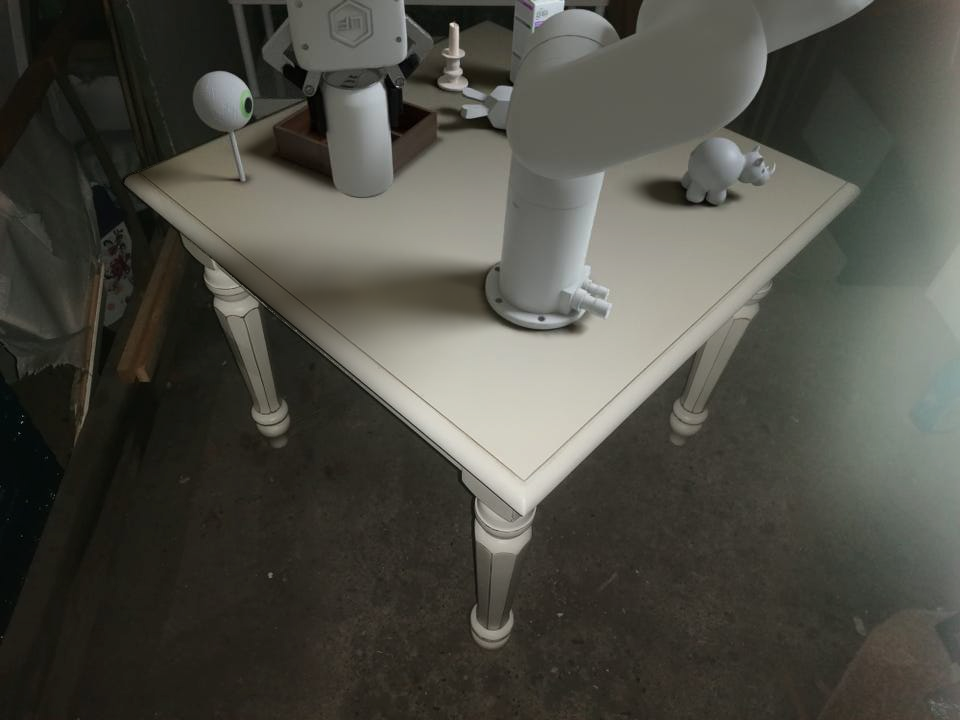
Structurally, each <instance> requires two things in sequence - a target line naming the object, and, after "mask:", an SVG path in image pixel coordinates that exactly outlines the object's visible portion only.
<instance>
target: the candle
mask: <svg viewBox="0 0 960 720" xmlns="http://www.w3.org/2000/svg"><path fill="white" fill-rule="evenodd" d="M459 26H460V25H459V24H457V23H456V21H455V20H454V21H453V22H450V23H449V29H448V30H449V33H448V47H446V48H444V49H442V50H441V55H442V56H443V57H445V58H446V66H445V67H444V68H443V74H444V75H442V76H440V77H438V78H437V86H438V87H439V88H440V89H441V90H443V91H447V92H462V90H463V89H464V88H467V87H468V86H469V80H468V79H467V78H466V77H465V76H463V68H462V67H460V65H461V62H460V60H461V58H463V57H465V55H466V52H465V50H464V49H462V48H460V27H459Z"/></svg>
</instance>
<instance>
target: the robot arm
mask: <svg viewBox="0 0 960 720" xmlns="http://www.w3.org/2000/svg"><path fill="white" fill-rule="evenodd" d="M285 1H286V10H287V15H288V17H286V19H285V20H284V21H283V22H282V23H281V25H280V26H279V27H278V28H277V30H275V32H274V33H273V35H272V36H271V37H270V38H269V39H268V41H267V42H266V43H265V44H264V45H263V46H262V49H261V53H262V59H263V61H264V62H266V63H267V64H268V65H269V66H271V67H272V68H273V69H274V70H276V71H277V72H279V73H280V74H282V75H283V77H284V78H285V79H286V80H287V81H288V82H290V83H292V84H293V85H294V86H295V87H297V89H300V90H301V91H302V93H303V94H304V96H305V98H306V105H308V110H309V116H310V121H311V123H315V122H317V123H318V127H319V131H320V135H321V134H325V133H326V132H327V127H326V120H325V113H324V106H323V99H322V94H321V86H320V84H319V83H320V80H321V77H322V75H323V73H324V72H330V71H343V70H355V69H367V68H384V69H385V71H386V74H385V77H384V78H383V81H384V83H385V85H386V87H387V93H388V104H389V119H390V124H391V126H393V127H398V114H403V101H404V98H403V97H404V96H403V88H404V87H405V86H406V85H407V80H408V79H409V78H410V76H412V75H413V73H415V71H416V70H417V69H418V68H419V66H420V63H421V62H422V60H424V59H425V58H426V56H427V55H428V54H429V53H430V52H431V51H432V50H433V47H434V46H435V43H434V40H433V38H432V36H431V35H430V33H428V32H427V31H426V30H425V29H424V28H423V27H422V26H421V25H419V24H418V23H417V22H416V21H414V19H412V17H410V16H409V15H408V14H407V13H406V12H405V10H406V9H405V0H285ZM874 1H875V0H642V1H641V5H640V7H639V10H638V15H637V19H636V26H635V33H633V34H631V35H628V36H627V37H624V38H622V39H621V38H620V36H619V34H618V32H617V31H616V29H615V27H614V26H613V25H612V24H611V23H610V22H609V21H608V20H607V19H606V18H605V17H603V16H601V15H600V14H597V12H594V11H591V10H587V9H581V8H572V9H571V8H570V9H566V10H563V11H562V12H559V13H557V14H555V15H553V16H551V17H549V18H548V19H547V20H545V21H544V22H543V23H542V24H541V25H540V26H539V27H538V28H537V29H536V30H535V31H534V33H533V34H532V35H531V37H530V39H529V40H528V42H527V44H526V46H525V48H524V51H523V54H522V57H521V60H520V63H519V66H518V70H517V73H516V77H515V82H514V83H513V85H512V87H513V89H512V93H511V96H510V100H509V104H508V109H507V115H506V130H505V131H506V137H507V142H508V145H509V148H510V150H511V154H510V165H509V174H508V175H509V176H508V181H507V193H506V203H505V214H504V224H503V235H502V245H501V255H500V260H499V261H498V262H497V263H496V264H494V265H493V266H492V268H491V269H489V272H488V274H487V275H486V278H485V279H486V280H485V296H486V299H487V302H488V303H489V305H490V307H491V308H492V309H493V310H494V311H495V312H496V313H497V314H498V315H499V316H501V317H502V318H503V319H505V320H506V321H508V322H511V323H512V324H515V325H517V326H520V327H524V328H528V329H533V330H552V329H553V330H554V329H559V328H563V327H566V326H568V325H570V324H572V323H574V322H576V321H577V320H579V319H580V318H581V317H582V316H583V315H584V314H585V313H586V311H587V312H588V313H590V314H591V315H594V316H596V317H598V318H601V319H603V320H606V319H607V318H608V317H609V315H610V312H611V310H612V307H613V303H611V302H609V301H607V299H608V297H609V294H610V291H611V290H610V289H609V288H607V287H605V286H602V285H598V284H596V283H593V279H590V274H591V269H592V267H591V266H590V265H587V264H585V263H586V259H587V258H586V257H587V253H588V249H589V245H590V239H591V236H592V231H593V225H594V221H595V218H596V217H595V216H596V212H597V208H598V203H599V197H600V195H601V194H600V193H601V191H602V187H603V182H604V177H605V174H606V172H607V171H609V170H612V169H616V168H619V167H622V166H625V165H628V164H631V163H634V162H638V161H640V160H643V159H647V158H650V157H653V156H655V155H658V154H661V153H664V152H668V151H670V150H673V149H676V148H679V147H683V146H685V145H688V144H691V143H693V142H696V141H699V140H701V139H703V138H707V137H708V136H710V135H712V134H714V133H717V132H718V131H719V130H721V129H722V128H724V127H726V126H727V125H728V124H730V123H731V122H733V121H734V120H735V119H737V118H738V117H739V116H740V115H741V114H742V113H743V112H744V111H745V110H746V109H747V108H748V106H749V105H750V104H751V102H752V101H753V100H754V99H755V97H756V95H757V93H758V92H759V90H760V88H761V86H762V83H763V80H764V78H765V75H766V70H767V61H768V54H770V53H772V52H775V51H778V50H780V49H782V48H785V47H787V46H789V45H793V44H794V43H796V42H799V41H801V40H804V39H806V38H808V37H810V36H812V35H815V34H817V33H819V32H822V31H825V30H826V29H829V28H831V27H833V26H836V25H837V24H839V23H842V22H843V21H846V20H847V19H850V18H851V17H852V16H854V15H856V14H858V13H859V12H861V11H862V10H863V9H865V8H867V6H869V5H871V4H872V3H873V2H874ZM408 38H409V39H410V40H411V41H413V43H412V44H411V46H410V48H409V49H408ZM291 44H292V48H293V52H294V56H295V59H296V61H297V63H296V62H294V61H293V60H292V59H290V58H288V57H287V56H286V55H285V53H284V52H285V51H286V50H287V49H288V47H289V46H290V45H291Z"/></svg>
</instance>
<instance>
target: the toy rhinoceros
mask: <svg viewBox="0 0 960 720" xmlns="http://www.w3.org/2000/svg"><path fill="white" fill-rule="evenodd" d="M760 148H761V146H760V145H757V146H756V147H754V148H753V149H752V150H751V151H747V152H744V153H742V152H741V149H740V148H739V146H738V145H737V144H736V143H735V142H734V141H733V140H730V139H729V138H726V137H718V136H717V137H710V138H708V139H705V140H703V141H701V142H700V143H699V144H698V145H697V146H695V148H694V149H692V151H691V152H690V155H689V158H688V161H687V162H688V163H687V170H686V171H685V173H683V175H682V177H681V180H680V183H681V186H682V187H683V188H684V189H686V194H685V198H686V199H687V200H688V201H689V202H692V203H701V202H704V200H705V199H706V201H707V202H708V203H710V204H711V205H714V206H715V205H716V206H717V205H721V204H723V203H724V202H725V200H726V199H727V189H728V188H730V187H731V186H732V185H733V184H734V183H735V182H737V180H738V181H739V182H740V183H742V184H751V185H753V186H754V187H762V186H764V185H766V183H768V182H769V180H770V178H771V177H770V176H771V175H773V173H774V172H775V170H776V163H775V162H773V164H772V165H771V167H769V165H767V166H766V164H765V160H766V159H765V157H764V156H762V155H761V154H760V152H759V150H760Z"/></svg>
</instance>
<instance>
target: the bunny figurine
mask: <svg viewBox="0 0 960 720" xmlns="http://www.w3.org/2000/svg"><path fill="white" fill-rule="evenodd" d="M512 89H513V86H509V85H498V86H496V87H495V89H493V90H492V91H491V93H490V94H488V95H487V94H485V93H483V92H481V91H478V90H476V89H474V88H471V87H468V86H467V87H466V88H464V89H463V90H461V97H462V98H464V99H467V100H472V101H475V102H477V103H482V104H463V105H461V110H460V115H461V117H462V118H464V119H475V118H480V117H485V116H486V117H487V119H488V120H489V122H490V124H491V125H492V127H494V128H496V129H501V130H505V131H506V115H507V109H508V104H509V100H510V96H511V93H512Z"/></svg>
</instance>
